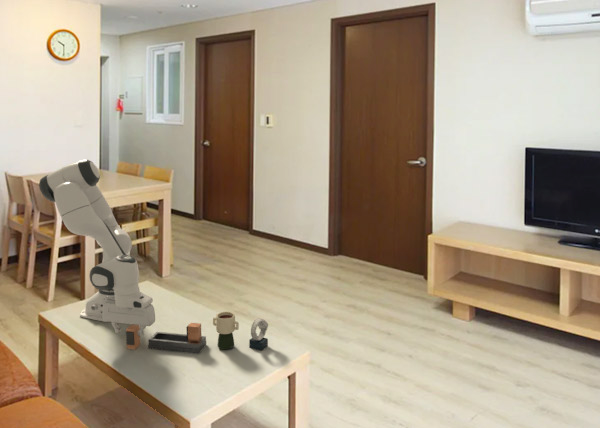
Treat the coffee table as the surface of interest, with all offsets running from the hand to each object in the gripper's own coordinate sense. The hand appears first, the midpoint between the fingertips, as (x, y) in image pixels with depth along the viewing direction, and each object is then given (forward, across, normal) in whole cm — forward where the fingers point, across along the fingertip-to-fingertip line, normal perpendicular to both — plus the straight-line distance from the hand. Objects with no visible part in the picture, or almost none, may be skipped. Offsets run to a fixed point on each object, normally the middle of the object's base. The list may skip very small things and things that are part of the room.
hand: (129, 333), depth 191 cm
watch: (+6, +46, +13) cm, 49 cm away
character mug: (+6, +35, +10) cm, 36 cm away
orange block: (+6, +1, +1) cm, 6 cm away
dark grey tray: (+6, +17, +5) cm, 18 cm away
